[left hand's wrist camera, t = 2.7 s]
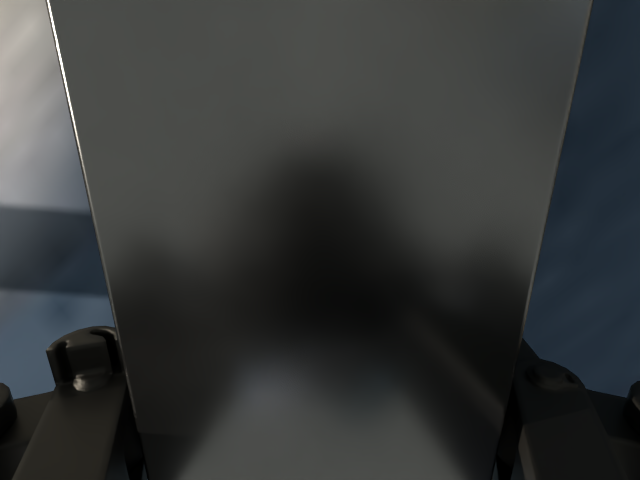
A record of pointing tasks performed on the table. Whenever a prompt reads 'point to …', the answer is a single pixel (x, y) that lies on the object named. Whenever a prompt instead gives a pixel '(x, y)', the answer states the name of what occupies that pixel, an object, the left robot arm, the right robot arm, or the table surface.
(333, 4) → the bar
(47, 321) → the table surface
